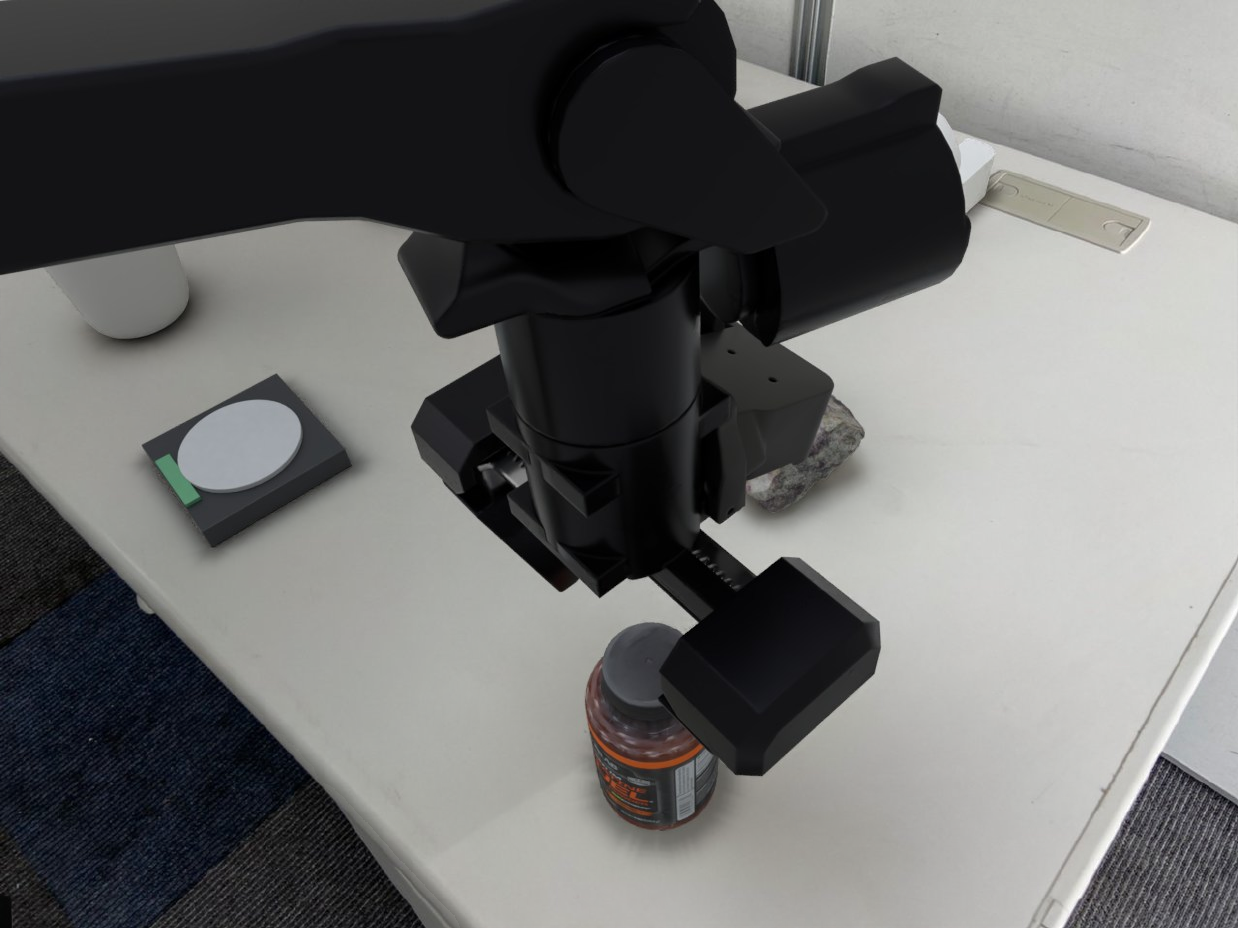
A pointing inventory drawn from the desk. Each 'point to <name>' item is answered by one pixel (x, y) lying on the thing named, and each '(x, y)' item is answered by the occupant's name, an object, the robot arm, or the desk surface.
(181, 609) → the desk surface
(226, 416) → the scale
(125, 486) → the desk surface
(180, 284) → the cup
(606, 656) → the supplement bottle
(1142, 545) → the desk surface
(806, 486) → the rock
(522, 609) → the desk surface
